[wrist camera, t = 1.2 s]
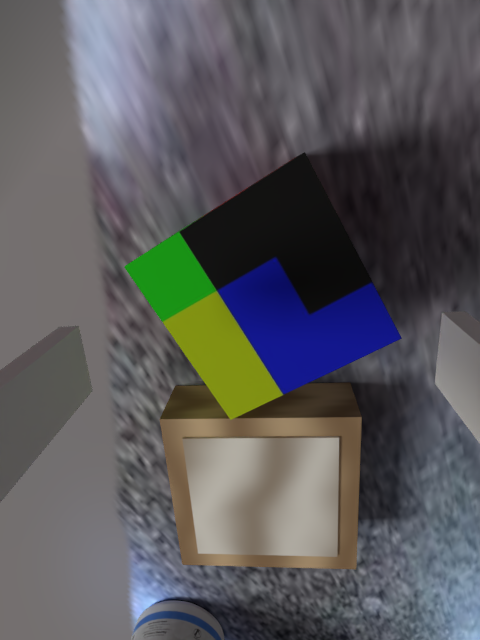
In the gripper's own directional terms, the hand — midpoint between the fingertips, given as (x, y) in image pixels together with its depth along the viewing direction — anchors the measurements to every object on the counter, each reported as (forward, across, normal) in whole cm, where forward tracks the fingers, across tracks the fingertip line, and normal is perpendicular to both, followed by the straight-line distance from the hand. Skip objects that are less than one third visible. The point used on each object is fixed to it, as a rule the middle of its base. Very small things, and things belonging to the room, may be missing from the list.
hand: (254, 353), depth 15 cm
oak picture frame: (+16, -1, -17) cm, 23 cm away
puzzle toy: (+16, 0, 0) cm, 16 cm away
